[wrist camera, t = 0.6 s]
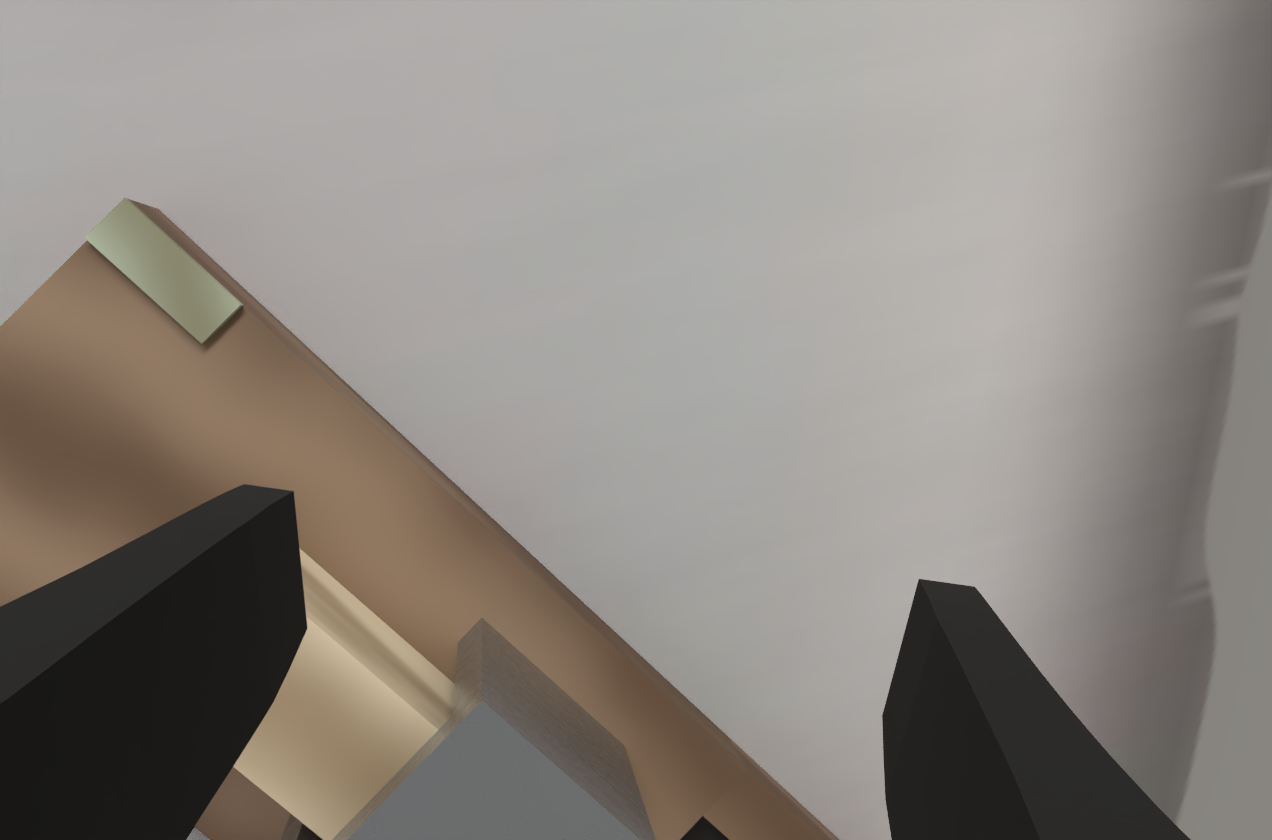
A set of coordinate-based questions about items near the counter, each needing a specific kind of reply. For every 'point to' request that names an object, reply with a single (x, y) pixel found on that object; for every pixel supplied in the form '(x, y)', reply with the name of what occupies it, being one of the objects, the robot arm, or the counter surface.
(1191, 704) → the counter surface
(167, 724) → the robot arm
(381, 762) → the ash block
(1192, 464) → the counter surface
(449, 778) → the metal u-shaped holder
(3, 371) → the walnut deck
